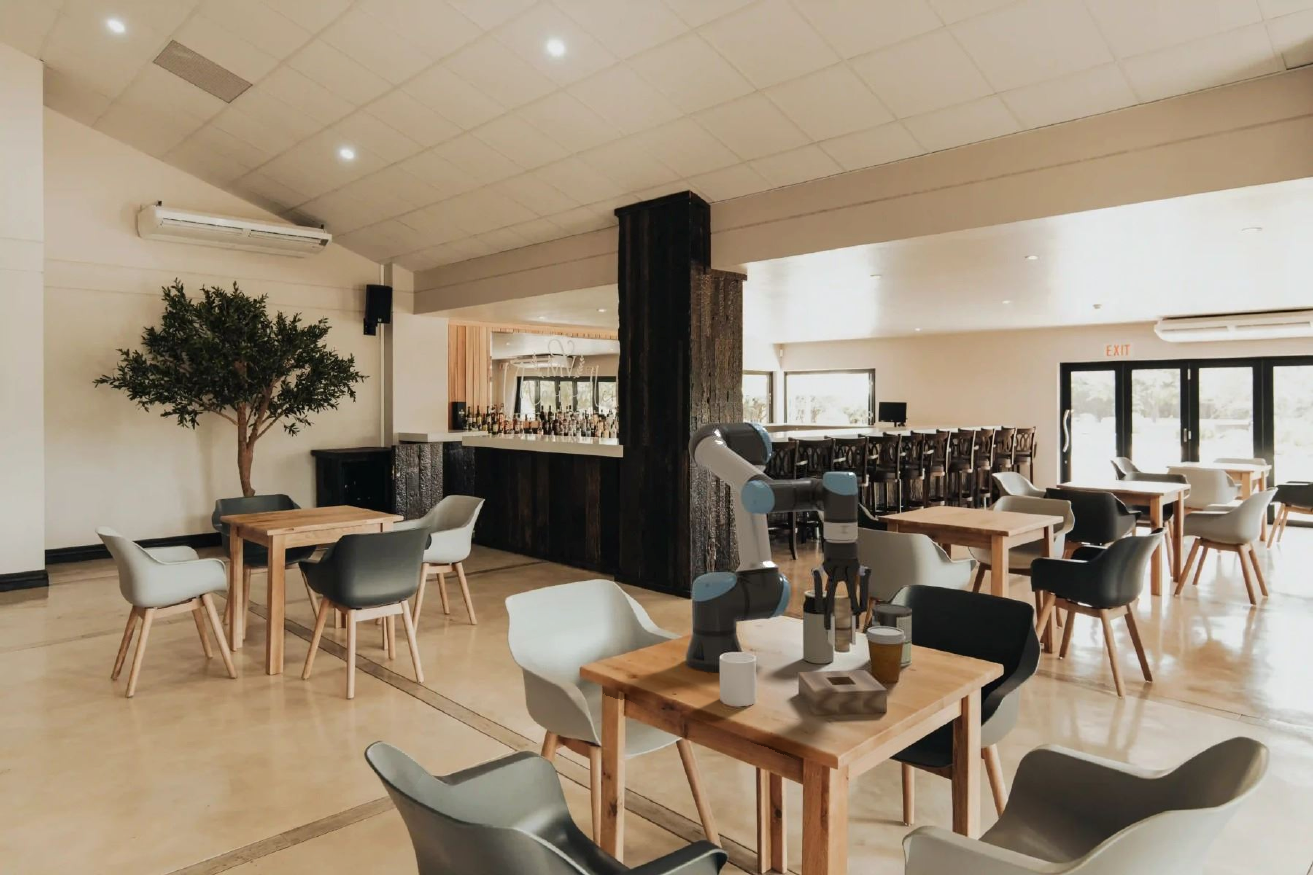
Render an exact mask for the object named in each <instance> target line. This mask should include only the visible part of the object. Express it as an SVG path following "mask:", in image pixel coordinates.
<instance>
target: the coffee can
mask: <svg viewBox="0 0 1313 875" xmlns="http://www.w3.org/2000/svg"><path fill="white" fill-rule="evenodd" d="M912 613H913V610H912V608H911V607H909V606H906V605H903V604H893V603H882V604H881V603H880V604H874V605H873V606H871V627H877V626H886V627H894V628H898V629H901V630H903V632H904V636H905V637H906V638H905V640H904V642H903V650H902V658H901V666H900V668H902V667H906V666H909V665H911V664H912V662H913V661H912Z"/></svg>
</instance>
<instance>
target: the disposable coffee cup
mask: <svg viewBox="0 0 1313 875" xmlns="http://www.w3.org/2000/svg"><path fill="white" fill-rule="evenodd" d="M865 638H866V639H867V646H868V654H869V655H868V656H869V661H870V667H871V676H872V677H873V678H874V679H875V680H876V681H878V682H879V683H884V684H885V683H886V684H893V683H897V682H899V680H900V672H901V667H900V666H901V658H902V650H903V642H904V640H905V638H906V637H905V636H904V632H903V630H901V629H898V628H894V627H886V626H877V627H872V626H871V627H869V628H867V631H866V633H865Z"/></svg>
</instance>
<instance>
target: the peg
mask: <svg viewBox="0 0 1313 875" xmlns="http://www.w3.org/2000/svg"><path fill="white" fill-rule="evenodd" d="M851 613H852V611H851V598H850V597H848V595H835V598H834V603H833V616H835V645H834V652H836V653H843V654H845V653H849V652H850V651H851V647H850V646H851V643H850V638H851Z"/></svg>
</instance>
